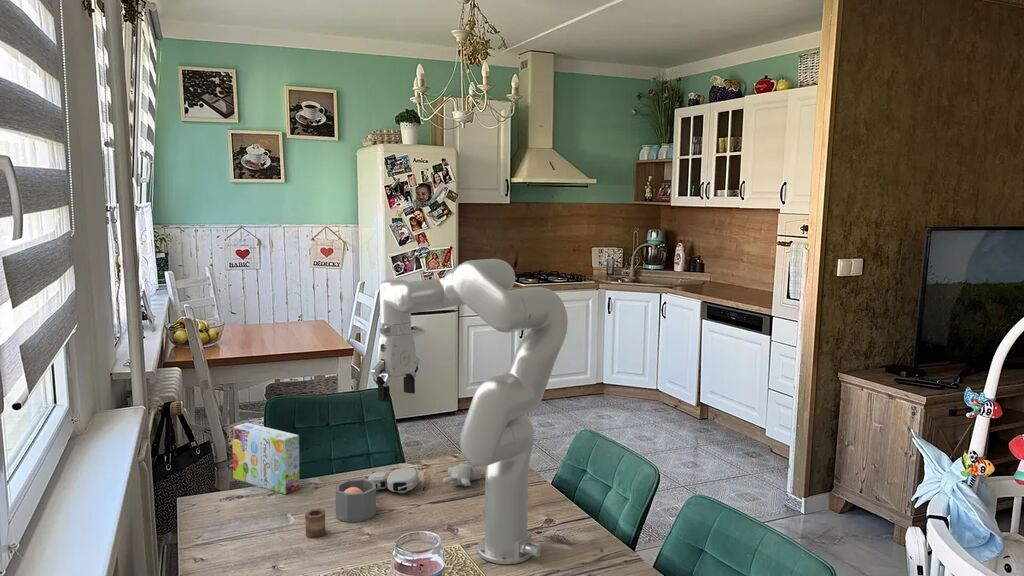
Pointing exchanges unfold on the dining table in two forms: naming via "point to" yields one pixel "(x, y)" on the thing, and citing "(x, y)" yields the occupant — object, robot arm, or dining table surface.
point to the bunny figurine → (462, 475)
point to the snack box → (266, 457)
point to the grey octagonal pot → (356, 501)
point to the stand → (315, 523)
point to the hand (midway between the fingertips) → (396, 397)
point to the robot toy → (395, 479)
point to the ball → (353, 490)
